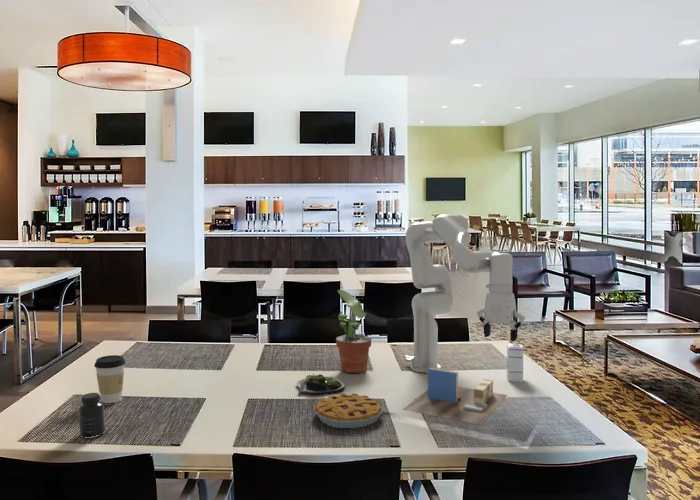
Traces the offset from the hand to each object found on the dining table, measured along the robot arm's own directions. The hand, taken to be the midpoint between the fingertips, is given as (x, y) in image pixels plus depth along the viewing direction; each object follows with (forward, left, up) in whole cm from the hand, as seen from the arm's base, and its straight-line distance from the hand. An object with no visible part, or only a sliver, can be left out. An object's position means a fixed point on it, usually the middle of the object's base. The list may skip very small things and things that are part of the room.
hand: (500, 338), depth 193 cm
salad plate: (-61, -20, -22) cm, 68 cm away
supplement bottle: (-97, -88, -22) cm, 133 cm away
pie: (-38, -39, -22) cm, 59 cm away
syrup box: (0, +21, -22) cm, 30 cm away
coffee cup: (-116, -67, -22) cm, 136 cm away
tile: (-16, -12, -20) cm, 28 cm away
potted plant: (-60, +4, -22) cm, 64 cm away
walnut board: (-11, -13, -22) cm, 27 cm away
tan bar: (-4, -9, -20) cm, 22 cm away
